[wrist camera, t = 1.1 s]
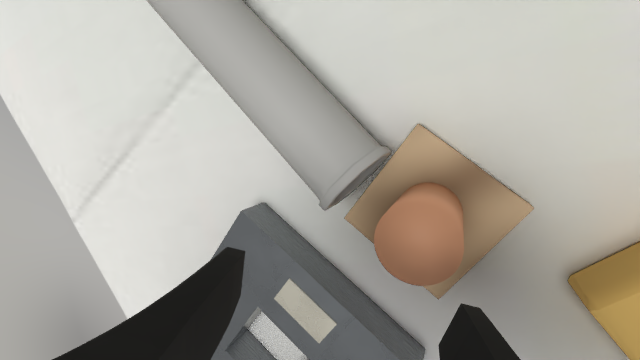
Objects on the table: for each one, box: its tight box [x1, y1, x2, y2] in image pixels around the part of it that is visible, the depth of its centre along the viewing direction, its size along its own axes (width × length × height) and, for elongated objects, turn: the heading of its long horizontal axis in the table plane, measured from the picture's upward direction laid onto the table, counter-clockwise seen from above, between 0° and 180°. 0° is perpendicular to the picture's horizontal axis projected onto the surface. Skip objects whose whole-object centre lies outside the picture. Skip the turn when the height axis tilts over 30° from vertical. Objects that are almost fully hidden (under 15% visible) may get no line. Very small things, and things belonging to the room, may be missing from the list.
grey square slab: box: [211, 203, 425, 360], centre depth 26 cm, size 16×16×3 cm
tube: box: [147, 0, 391, 210], centre depth 23 cm, size 5×5×25 cm
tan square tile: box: [344, 124, 534, 299], centre depth 21 cm, size 8×8×1 cm
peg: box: [374, 182, 464, 286], centre depth 18 cm, size 4×4×6 cm
